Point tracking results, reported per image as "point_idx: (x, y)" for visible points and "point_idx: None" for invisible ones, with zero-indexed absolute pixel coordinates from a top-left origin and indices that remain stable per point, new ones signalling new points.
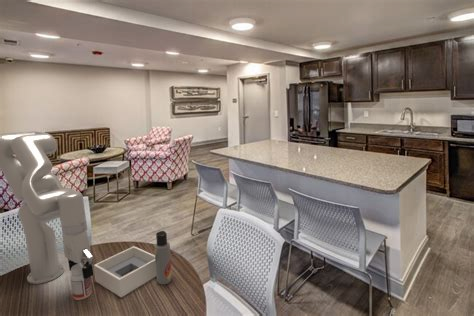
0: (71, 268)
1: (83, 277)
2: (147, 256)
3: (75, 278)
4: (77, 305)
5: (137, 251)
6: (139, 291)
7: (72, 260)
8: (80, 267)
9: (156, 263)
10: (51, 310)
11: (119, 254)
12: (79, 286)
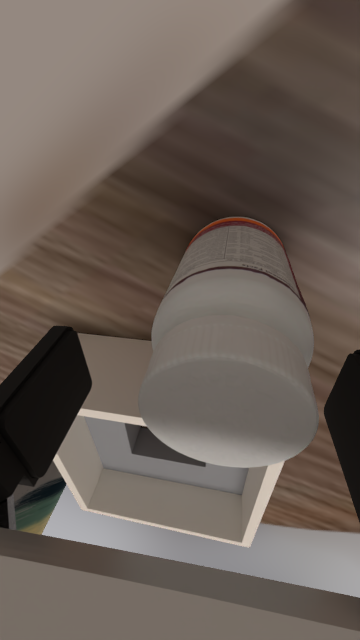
0: (273, 376)
1: (57, 333)
2: (148, 505)
3: (185, 299)
4: (167, 196)
5: (214, 522)
6: None
7: (34, 599)
8: (194, 417)
9: (15, 495)
10: (275, 30)
11: (251, 511)
12: (176, 273)
